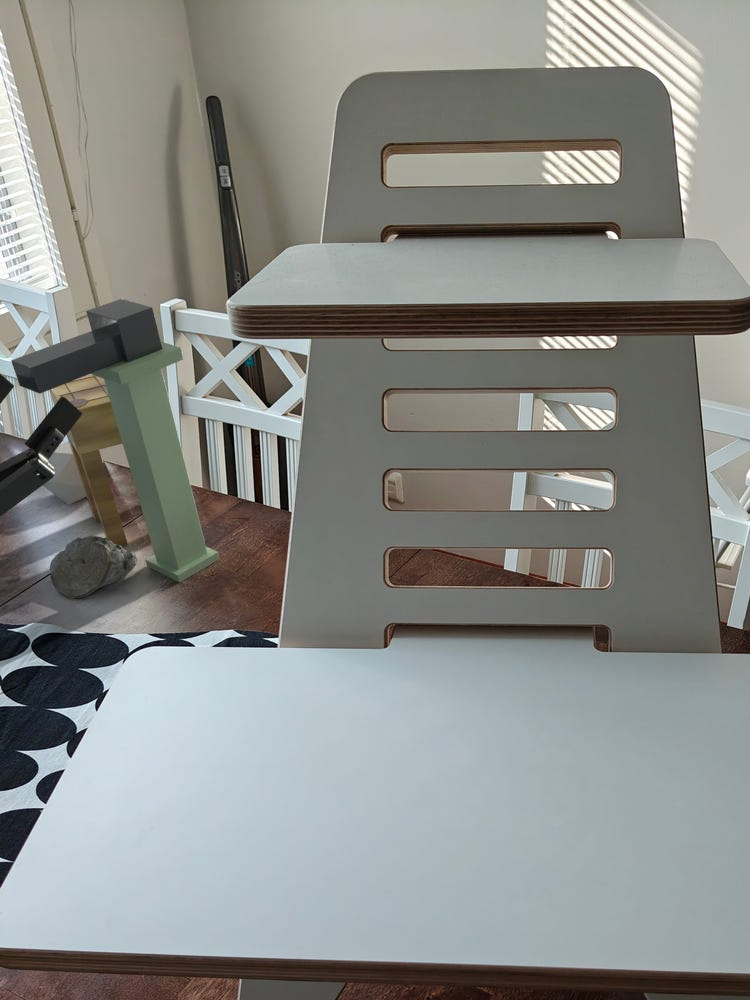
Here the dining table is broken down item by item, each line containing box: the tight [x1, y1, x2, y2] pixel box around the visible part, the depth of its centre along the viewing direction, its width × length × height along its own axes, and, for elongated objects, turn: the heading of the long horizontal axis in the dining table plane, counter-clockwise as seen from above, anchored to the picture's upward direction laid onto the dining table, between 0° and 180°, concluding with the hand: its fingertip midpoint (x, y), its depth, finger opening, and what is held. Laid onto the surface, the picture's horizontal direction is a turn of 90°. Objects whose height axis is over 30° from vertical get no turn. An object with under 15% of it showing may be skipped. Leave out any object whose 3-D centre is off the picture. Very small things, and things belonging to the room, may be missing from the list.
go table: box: [48, 374, 129, 547], centre depth 138 cm, size 12×12×21 cm
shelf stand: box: [91, 341, 220, 584], centre depth 126 cm, size 9×9×30 cm
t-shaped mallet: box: [10, 298, 162, 394], centre depth 112 cm, size 16×6×5 cm, turn 142°
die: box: [42, 441, 104, 506], centre depth 149 cm, size 8×9×10 cm
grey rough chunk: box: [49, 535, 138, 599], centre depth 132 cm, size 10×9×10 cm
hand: (37, 390), depth 109 cm, fingers open, 13 cm apart
